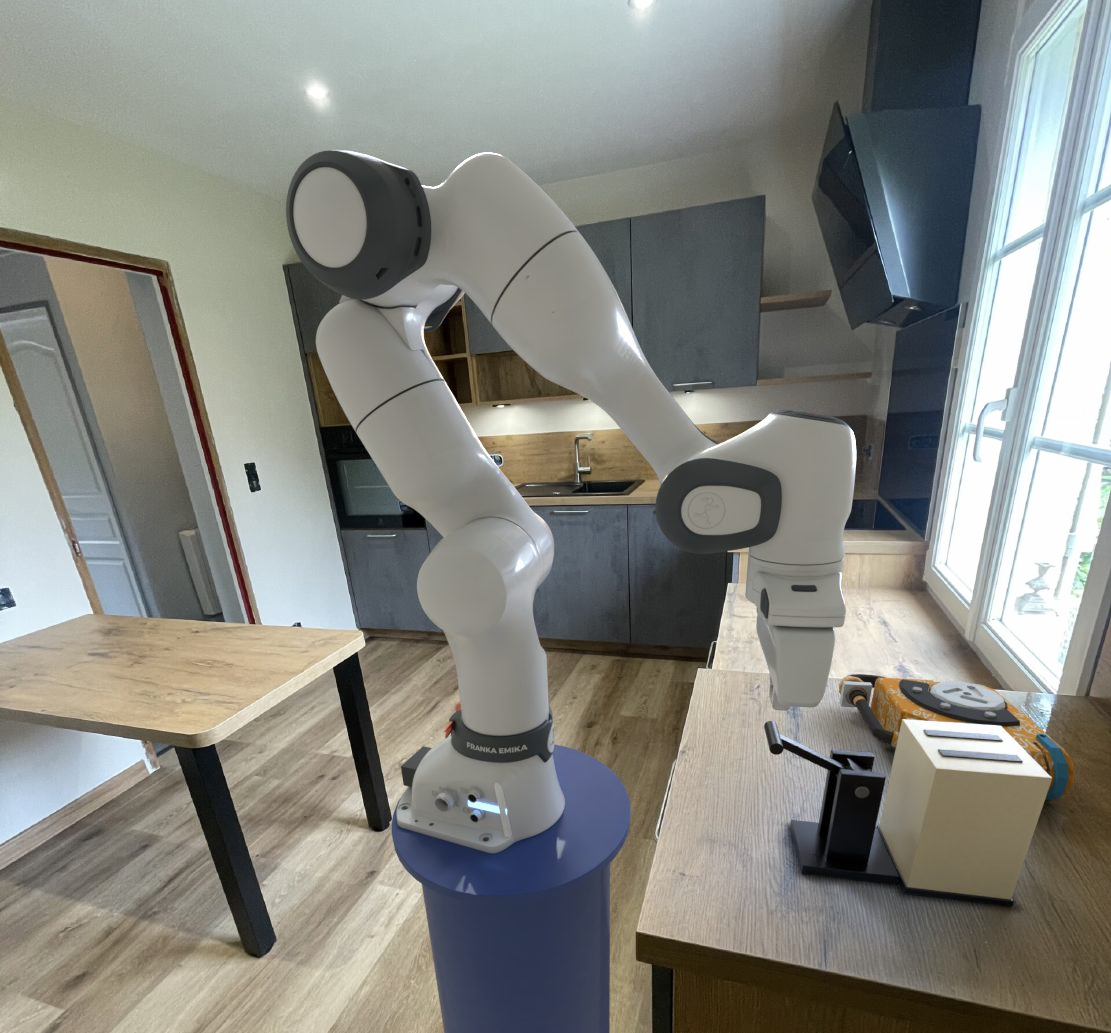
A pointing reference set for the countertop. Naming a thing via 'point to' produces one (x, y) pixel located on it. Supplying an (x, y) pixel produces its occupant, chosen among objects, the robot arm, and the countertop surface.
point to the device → (952, 716)
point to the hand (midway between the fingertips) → (778, 704)
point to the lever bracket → (847, 827)
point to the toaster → (961, 810)
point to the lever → (806, 751)
